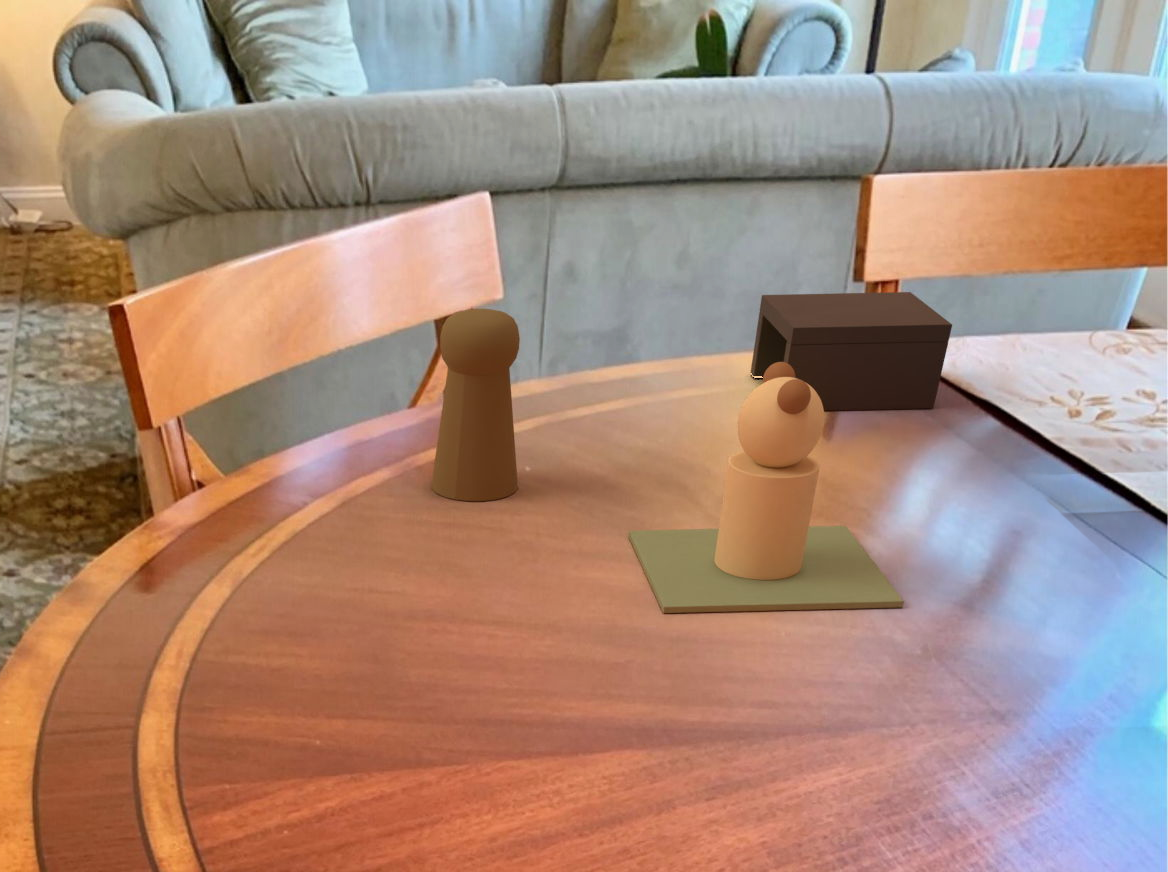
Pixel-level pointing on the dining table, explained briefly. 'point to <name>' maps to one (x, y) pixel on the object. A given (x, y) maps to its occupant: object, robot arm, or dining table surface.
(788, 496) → the toy bear
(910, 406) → the brown u-shaped bridge
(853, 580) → the mat
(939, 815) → the dining table surface
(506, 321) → the brown pepper mill
